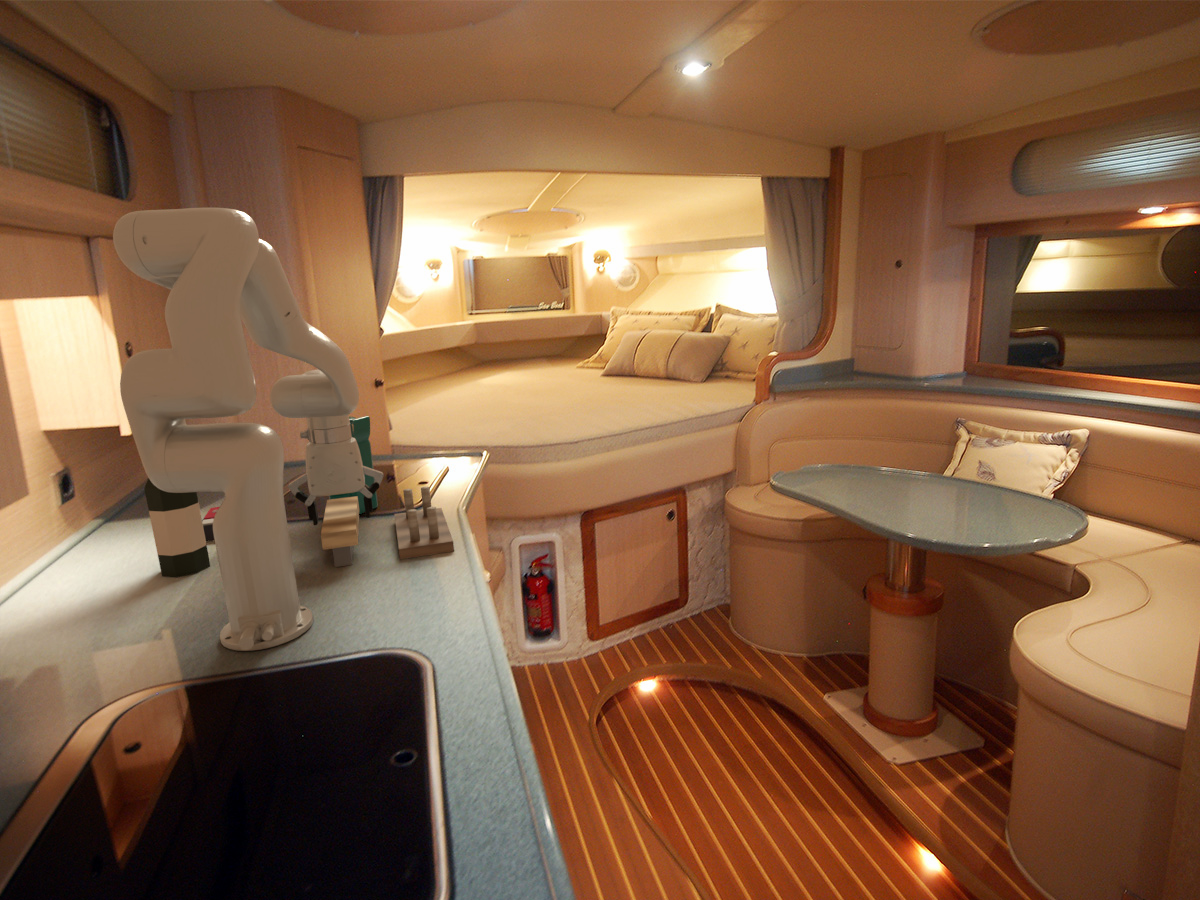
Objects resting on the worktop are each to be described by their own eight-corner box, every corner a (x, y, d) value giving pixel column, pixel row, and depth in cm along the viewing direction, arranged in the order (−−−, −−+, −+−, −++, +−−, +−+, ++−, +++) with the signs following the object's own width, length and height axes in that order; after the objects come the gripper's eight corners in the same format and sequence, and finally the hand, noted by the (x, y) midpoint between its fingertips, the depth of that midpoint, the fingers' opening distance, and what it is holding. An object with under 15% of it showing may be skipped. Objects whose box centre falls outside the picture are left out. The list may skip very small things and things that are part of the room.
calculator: (261, 499, 158) (256, 514, 144) (264, 517, 159) (259, 534, 145) (208, 506, 154) (196, 523, 140) (211, 525, 155) (200, 543, 141)
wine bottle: (151, 579, 123) (117, 415, 116) (172, 561, 131) (141, 407, 124) (201, 575, 124) (170, 412, 117) (218, 557, 132) (190, 404, 125)
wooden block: (358, 544, 125) (356, 529, 124) (322, 549, 123) (320, 534, 122) (359, 509, 145) (357, 496, 144) (329, 513, 143) (327, 499, 142)
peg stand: (454, 550, 131) (450, 511, 129) (400, 559, 128) (395, 518, 126) (442, 516, 151) (438, 481, 149) (395, 522, 148) (391, 487, 146)
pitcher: (327, 513, 156) (314, 419, 151) (354, 502, 163) (343, 412, 158) (359, 518, 152) (347, 421, 147) (386, 507, 159) (375, 414, 154)
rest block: (352, 564, 126) (349, 544, 125) (334, 567, 125) (332, 546, 124) (353, 529, 144) (351, 512, 144) (338, 532, 144) (336, 514, 143)
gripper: (278, 444, 124) (293, 532, 128) (378, 433, 129) (388, 519, 133) (283, 435, 130) (296, 519, 135) (377, 425, 136) (387, 507, 140)
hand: (342, 519), depth 134 cm, fingers open, 9 cm apart
